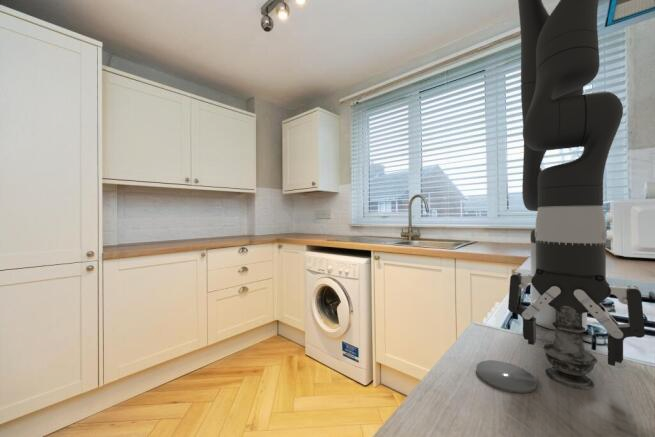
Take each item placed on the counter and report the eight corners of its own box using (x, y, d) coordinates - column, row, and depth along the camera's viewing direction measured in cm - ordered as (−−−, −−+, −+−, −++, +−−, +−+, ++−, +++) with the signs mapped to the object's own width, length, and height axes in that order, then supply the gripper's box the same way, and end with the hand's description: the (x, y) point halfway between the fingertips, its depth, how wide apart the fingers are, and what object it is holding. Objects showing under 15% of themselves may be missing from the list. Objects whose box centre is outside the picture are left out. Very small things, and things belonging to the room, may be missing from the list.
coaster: (484, 359, 45) (484, 355, 45) (540, 377, 40) (540, 372, 40) (469, 377, 40) (469, 373, 40) (530, 400, 35) (530, 396, 35)
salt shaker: (609, 393, 36) (609, 301, 36) (557, 387, 38) (557, 299, 37) (578, 368, 42) (578, 289, 42) (534, 365, 43) (534, 288, 43)
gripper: (641, 239, 37) (641, 361, 37) (515, 235, 47) (515, 330, 47) (647, 243, 32) (647, 384, 32) (503, 237, 42) (503, 345, 42)
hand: (568, 352), depth 40 cm, fingers open, 8 cm apart
